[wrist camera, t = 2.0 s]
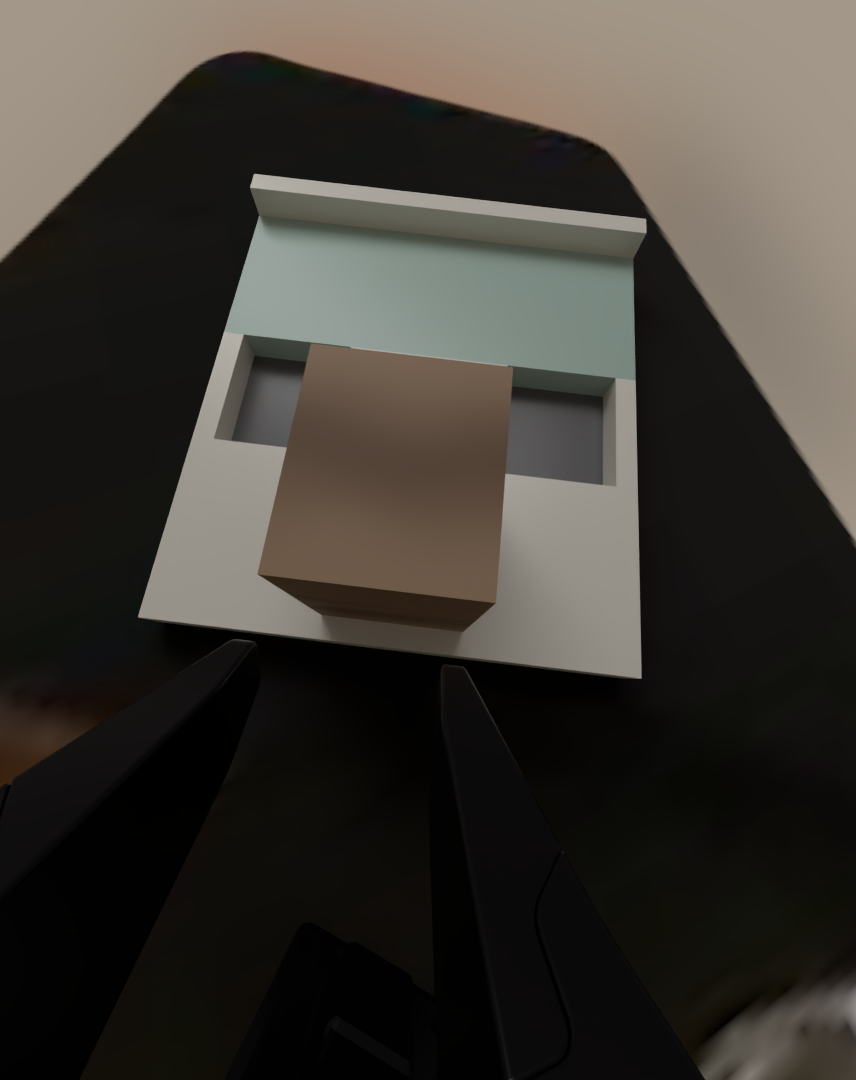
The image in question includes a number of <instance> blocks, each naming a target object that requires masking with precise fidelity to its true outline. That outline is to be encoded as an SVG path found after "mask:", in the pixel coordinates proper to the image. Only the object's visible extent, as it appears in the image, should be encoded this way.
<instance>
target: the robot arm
mask: <svg viewBox="0 0 856 1080" xmlns="http://www.w3.org/2000/svg"><path fill="white" fill-rule="evenodd" d="M260 677H261V675H260V664H259V654H258V647H257V644H256V643H255V642H253V641H247V640H239V639H233V640H231V641H229V642H227V643H225V644H224V645H222V646H221V647H219V648H218V649H216V650H214V651H213V652H211V653H210V654H208V655H207V656H205V657H204V658H202V659H200V660H199V661H197V662H196V663H194V664H193V665H191V666H189V667H188V668H186V669H185V670H183V671H182V672H180V673H178V674H177V675H175V676H174V677H172V678H171V679H169V680H168V681H166V682H164V683H163V684H161V685H160V686H158V687H157V688H155V689H153V690H152V691H150V692H149V693H147V694H146V695H144V696H142V697H141V698H139V699H138V700H136V701H135V702H133V703H131V704H130V705H128V706H127V707H125V708H124V709H122V710H121V711H119V712H117V713H116V714H114V715H113V716H111V717H110V718H108V719H106V720H105V721H103V722H102V723H100V724H99V725H97V726H95V727H94V728H92V729H91V730H89V731H88V732H86V733H85V734H83V735H81V736H80V737H78V738H77V739H75V740H74V741H72V742H70V743H69V744H67V745H66V746H64V747H63V748H61V749H59V750H58V751H56V752H55V753H53V754H52V755H50V756H49V757H47V758H45V759H44V760H42V761H41V762H39V763H38V764H36V765H34V766H33V767H31V768H30V769H28V770H27V771H25V772H23V773H22V774H20V775H19V776H17V777H16V778H14V779H13V780H12V782H11V784H4V785H3V786H1V787H0V1080H79V1079H80V1077H81V1075H82V1073H83V1070H84V1068H85V1066H86V1064H87V1062H88V1060H89V1058H90V1056H91V1054H92V1052H93V1050H94V1048H95V1046H96V1044H97V1042H98V1040H99V1037H100V1035H101V1033H102V1031H103V1029H104V1027H105V1025H106V1023H107V1021H108V1019H109V1017H110V1015H111V1013H112V1011H113V1009H114V1006H115V1004H116V1002H117V1000H118V998H119V996H120V994H121V992H122V990H123V988H124V986H125V984H126V982H127V980H128V978H129V975H130V973H131V971H132V969H133V967H134V965H135V963H136V961H137V959H138V957H139V955H140V953H141V951H142V949H143V947H144V944H145V942H146V940H147V938H148V936H149V934H150V932H151V930H152V928H153V926H154V924H155V922H156V920H157V918H158V916H159V914H160V911H161V909H162V907H163V905H164V903H165V901H166V899H167V897H168V895H169V893H170V891H171V889H172V887H173V885H174V883H175V880H176V878H177V876H178V874H179V872H180V870H181V868H182V866H183V864H184V862H185V860H186V858H187V856H188V854H189V852H190V849H191V847H192V845H193V843H194V841H195V839H196V837H197V835H198V833H199V831H200V829H201V827H202V825H203V823H204V821H205V818H206V816H207V814H208V812H209V810H210V808H211V806H212V804H213V802H214V800H215V798H216V796H217V794H218V792H219V790H220V788H221V785H222V783H223V781H224V779H225V777H226V775H227V772H228V770H229V768H230V765H231V762H232V760H233V757H234V755H235V752H236V749H237V746H238V743H239V741H240V738H241V735H242V732H243V730H244V727H245V724H246V721H247V718H248V716H249V713H250V710H251V707H252V705H253V702H254V699H255V696H256V694H257V691H258V688H259V684H260ZM429 831H430V862H431V893H432V924H433V955H434V986H435V997H434V996H432V995H430V994H429V993H427V992H426V991H424V990H422V989H421V988H419V987H417V986H416V985H414V984H413V981H412V977H411V976H410V975H409V974H408V973H406V972H404V971H403V970H401V969H399V968H398V967H396V966H394V965H393V964H391V963H390V962H388V961H386V960H385V959H383V958H381V957H380V956H378V955H376V954H375V953H373V952H371V951H370V950H368V949H366V948H365V947H363V946H362V945H360V944H358V943H357V942H352V943H349V944H347V943H345V942H343V941H342V940H340V939H338V938H337V937H335V936H333V935H332V934H330V933H329V932H327V931H325V930H324V929H322V928H320V927H319V926H317V925H315V924H313V923H305V924H303V925H302V926H300V928H299V929H298V930H297V932H296V934H295V936H294V938H293V940H292V942H291V944H290V946H289V948H288V950H287V953H286V955H285V957H284V959H283V961H282V963H281V965H280V967H279V969H278V971H277V973H276V975H275V977H274V979H273V981H272V983H271V985H270V988H269V990H268V992H267V994H266V996H265V998H264V1000H263V1002H262V1004H261V1006H260V1008H259V1010H258V1012H257V1014H256V1016H255V1018H254V1021H253V1023H252V1025H251V1027H250V1029H249V1031H248V1033H247V1035H246V1037H245V1039H244V1041H243V1043H242V1045H241V1047H240V1049H239V1051H238V1053H237V1056H236V1058H235V1060H234V1062H233V1064H232V1066H231V1068H230V1070H229V1072H228V1074H227V1076H226V1078H225V1080H432V1079H433V1077H434V1074H435V1071H436V1069H437V1080H705V1079H704V1077H703V1076H702V1074H701V1073H700V1071H699V1069H698V1068H697V1066H696V1065H695V1063H694V1062H693V1060H692V1059H691V1057H690V1056H689V1054H688V1053H687V1051H686V1050H685V1048H684V1047H683V1045H682V1043H681V1042H680V1040H679V1039H678V1037H677V1036H676V1034H675V1033H674V1031H673V1030H672V1028H671V1027H670V1025H669V1024H668V1022H667V1021H666V1019H665V1018H664V1016H663V1014H662V1013H661V1011H660V1010H659V1008H658V1007H657V1005H656V1004H655V1002H654V1001H653V999H652V998H651V996H650V995H649V993H648V992H647V990H646V989H645V987H644V985H643V984H642V982H641V981H640V979H639V978H638V976H637V975H636V973H635V972H634V970H633V968H632V967H631V965H630V964H629V962H628V960H627V959H626V957H625V956H624V954H623V952H622V951H621V949H620V948H619V946H618V945H617V943H616V941H615V940H614V938H613V937H612V935H611V933H610V932H609V930H608V929H607V927H606V925H605V924H604V922H603V920H602V918H601V917H600V915H599V913H598V911H597V910H596V908H595V906H594V904H593V903H592V901H591V899H590V897H589V896H588V894H587V892H586V890H585V889H584V887H583V885H582V883H581V882H580V880H579V878H578V876H577V874H576V872H575V870H574V869H573V867H572V865H571V863H570V861H569V859H568V857H567V856H566V854H565V853H564V852H560V851H561V845H560V843H559V841H558V839H557V837H556V836H555V834H554V832H553V830H552V828H551V826H550V824H549V823H548V821H547V819H546V817H545V815H544V813H543V811H542V810H541V808H540V806H539V804H538V802H537V800H536V798H535V797H534V795H533V793H532V791H531V789H530V787H529V785H528V784H527V782H526V780H525V778H524V776H523V774H522V772H521V771H520V769H519V767H518V765H517V763H516V761H515V759H514V758H513V756H512V754H511V752H510V750H509V748H508V746H507V745H506V743H505V741H504V739H503V737H502V735H501V733H500V732H499V730H498V728H497V726H496V724H495V722H494V720H493V719H492V717H491V715H490V713H489V711H488V709H487V707H486V706H485V704H484V702H483V700H482V698H481V696H480V694H479V693H478V691H477V689H476V687H475V685H474V683H473V681H472V680H471V678H470V676H469V674H468V672H467V671H466V669H465V668H464V667H462V666H455V665H447V664H445V665H443V666H442V667H441V672H440V678H439V684H438V691H437V697H436V706H435V718H434V730H433V742H432V754H431V766H430V779H429ZM304 936H308V937H310V938H311V939H312V943H313V944H312V945H311V946H304V945H303V944H302V941H301V938H302V937H304ZM435 1017H436V1026H434V1025H433V1024H432V1023H431V1021H432V1019H433V1018H435Z"/></svg>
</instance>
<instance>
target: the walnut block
mask: <svg viewBox="0 0 856 1080" xmlns="http://www.w3.org/2000/svg"><path fill="white" fill-rule="evenodd" d="M512 377H513V367H508V366H499V365H491V364H482V363H474V362H465V361H457V360H448V359H440V358H431V357H422V356H414V355H405V354H397V353H388V352H380V351H371V350H363V349H354V348H346V347H337V346H329V345H320V344H312V343H311V345H310V350H309V354H308V358H307V363H306V367H305V371H304V375H303V380H302V384H301V388H300V393H299V397H298V401H297V406H296V410H295V414H294V418H293V423H292V427H291V431H290V436H289V440H288V444H287V449H286V453H285V457H284V461H283V466H282V470H281V474H280V479H279V483H278V487H277V492H276V496H275V500H274V505H273V509H272V513H271V517H270V522H269V526H268V530H267V535H266V539H265V543H264V548H263V552H262V556H261V560H260V565H259V569H258V573H257V574H258V575H259V576H261V577H262V578H264V579H265V580H267V581H269V582H270V583H272V584H273V585H275V586H277V587H278V588H280V589H281V590H283V591H284V592H286V593H288V594H289V595H291V596H292V597H294V598H295V599H297V600H299V601H300V602H302V603H303V604H305V605H306V606H308V607H310V608H311V609H313V610H314V611H316V612H317V613H319V614H321V615H326V616H334V617H342V618H350V619H359V620H367V621H375V622H383V623H392V624H400V625H408V626H416V627H424V628H433V629H441V630H449V631H457V632H464V631H465V630H466V629H467V628H468V627H469V626H471V625H472V624H473V623H474V622H475V621H476V620H477V619H479V618H480V617H481V616H482V615H483V614H484V613H485V612H487V611H488V610H489V609H490V608H491V607H492V606H493V605H494V604H496V596H497V582H498V569H499V555H500V541H501V528H502V514H503V500H504V487H505V473H506V459H507V446H508V432H509V418H510V405H511V391H512Z"/></svg>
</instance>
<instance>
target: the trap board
mask: <svg viewBox="0 0 856 1080" xmlns="http://www.w3.org/2000/svg"><path fill="white" fill-rule="evenodd" d="M250 189H251V192H252V195H253V198H254V201H255V203H256V206H257V209H258V212H259V215H260V216H259V219H258V222H257V226H256V229H255V232H254V235H253V239H252V242H251V245H250V249H249V252H248V255H247V259H246V262H245V265H244V268H243V272H242V275H241V278H240V282H239V285H238V288H237V292H236V295H235V298H234V301H233V305H232V308H231V311H230V315H229V318H228V321H227V325H226V328H225V331H224V335H223V338H222V341H221V344H220V348H219V351H218V354H217V358H216V361H215V364H214V368H213V371H212V374H211V377H210V381H209V384H208V387H207V391H206V394H205V397H204V401H203V404H202V407H201V411H200V414H199V417H198V420H197V424H196V427H195V430H194V434H193V437H192V440H191V444H190V447H189V450H188V453H187V457H186V460H185V463H184V467H183V470H182V473H181V477H180V480H179V483H178V486H177V490H176V493H175V496H174V500H173V503H172V506H171V510H170V513H169V516H168V520H167V523H166V526H165V529H164V533H163V536H162V539H161V543H160V546H159V549H158V553H157V556H156V559H155V562H154V566H153V569H152V572H151V576H150V579H149V582H148V586H147V589H146V592H145V596H144V599H143V602H142V605H141V609H140V612H139V615H138V617H139V618H144V619H149V620H154V621H159V622H163V623H171V624H179V625H188V626H196V627H204V628H212V629H220V630H229V631H237V632H245V633H253V634H261V635H270V636H278V637H286V638H294V639H303V640H311V641H319V642H327V643H335V644H344V645H352V646H360V647H368V648H376V649H385V650H393V651H401V652H409V653H417V654H426V655H434V656H442V657H450V658H458V659H467V660H475V661H483V662H491V663H499V664H508V665H516V666H524V667H532V668H540V669H549V670H557V671H565V672H573V673H581V674H590V675H598V676H606V677H614V678H634V679H642V677H641V628H640V579H639V530H638V480H637V431H636V382H635V333H634V284H633V258H634V256H635V254H636V252H637V250H638V248H639V246H640V244H641V242H642V240H643V239H644V237H645V235H646V219H641V218H632V217H624V216H615V215H606V214H598V213H589V212H580V211H571V210H563V209H554V208H545V207H537V206H528V205H519V204H511V203H502V202H493V201H484V200H476V199H467V198H458V197H450V196H441V195H432V194H424V193H415V192H406V191H398V190H389V189H380V188H371V187H363V186H354V185H345V184H337V183H328V182H319V181H311V180H302V179H293V178H284V177H276V176H267V175H258V174H254V177H253V180H252V183H251V186H250ZM311 343H312V344H320V345H329V346H337V347H346V348H354V349H363V350H371V351H380V352H388V353H397V354H405V355H414V356H422V357H431V358H440V359H448V360H457V361H465V362H474V363H482V364H491V365H499V366H508V367H513V377H512V391H511V405H510V418H509V432H508V446H507V459H506V473H505V487H504V500H503V514H502V528H501V541H500V555H499V569H498V582H497V596H496V604H494V605H493V606H492V607H491V608H490V609H489V610H488V611H487V612H485V613H484V614H483V615H482V616H481V617H480V618H479V619H477V620H476V621H475V622H474V623H473V624H472V625H471V626H469V627H468V628H467V629H466V630H465V631H464V632H457V631H449V630H441V629H433V628H424V627H416V626H408V625H400V624H392V623H383V622H375V621H367V620H359V619H350V618H342V617H334V616H326V615H321V614H319V613H317V612H316V611H314V610H313V609H311V608H310V607H308V606H306V605H305V604H303V603H302V602H300V601H299V600H297V599H295V598H294V597H292V596H291V595H289V594H288V593H286V592H284V591H283V590H281V589H280V588H278V587H277V586H275V585H273V584H272V583H270V582H269V581H267V580H265V579H264V578H262V577H261V576H259V575H258V574H257V573H258V569H259V565H260V560H261V556H262V552H263V548H264V543H265V539H266V535H267V530H268V526H269V522H270V517H271V513H272V509H273V505H274V500H275V496H276V492H277V487H278V483H279V479H280V474H281V470H282V466H283V461H284V457H285V453H286V449H287V444H288V440H289V436H290V431H291V427H292V423H293V418H294V414H295V410H296V406H297V401H298V397H299V393H300V388H301V384H302V380H303V375H304V371H305V367H306V363H307V358H308V354H309V350H310V345H311Z"/></svg>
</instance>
